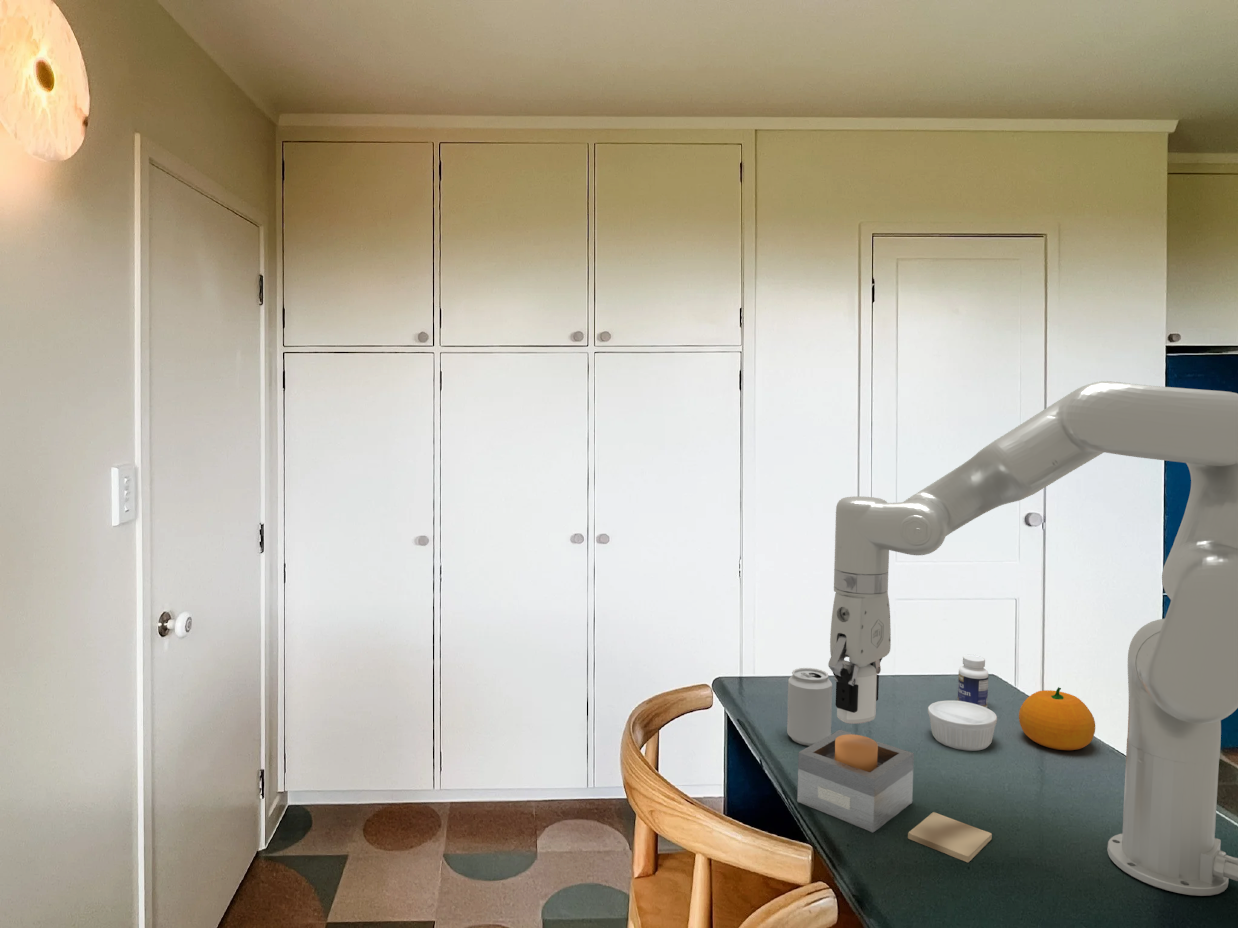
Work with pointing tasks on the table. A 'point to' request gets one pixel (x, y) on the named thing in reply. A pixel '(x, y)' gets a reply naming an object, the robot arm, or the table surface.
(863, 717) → the eye dropper bottle
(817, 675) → the can
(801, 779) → the grey box
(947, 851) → the coaster
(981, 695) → the pill bottle
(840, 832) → the table surface
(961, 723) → the ramekin
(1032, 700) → the fruit
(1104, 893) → the table surface
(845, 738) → the button
